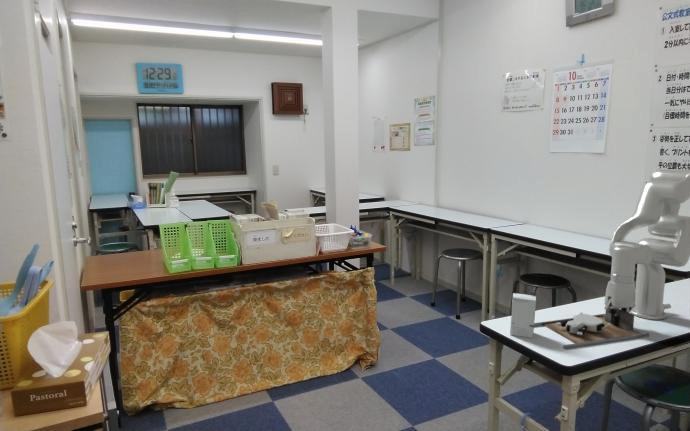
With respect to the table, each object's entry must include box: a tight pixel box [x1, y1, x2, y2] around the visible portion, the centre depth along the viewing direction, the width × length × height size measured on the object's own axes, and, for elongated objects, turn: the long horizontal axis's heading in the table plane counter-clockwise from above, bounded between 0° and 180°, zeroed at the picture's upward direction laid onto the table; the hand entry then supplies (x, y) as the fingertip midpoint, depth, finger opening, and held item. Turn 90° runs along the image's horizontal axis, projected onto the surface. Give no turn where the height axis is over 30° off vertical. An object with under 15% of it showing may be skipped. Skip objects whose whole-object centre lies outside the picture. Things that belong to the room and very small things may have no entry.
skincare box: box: [509, 292, 537, 339], centre depth 165 cm, size 8×6×15 cm
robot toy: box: [556, 312, 610, 335], centre depth 166 cm, size 12×4×15 cm
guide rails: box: [534, 313, 650, 350], centre depth 167 cm, size 36×20×1 cm, turn 104°
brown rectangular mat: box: [543, 308, 643, 344], centre depth 167 cm, size 28×18×6 cm, turn 104°
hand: (618, 323), depth 170 cm, fingers closed on brown rectangular mat, 3 cm apart
